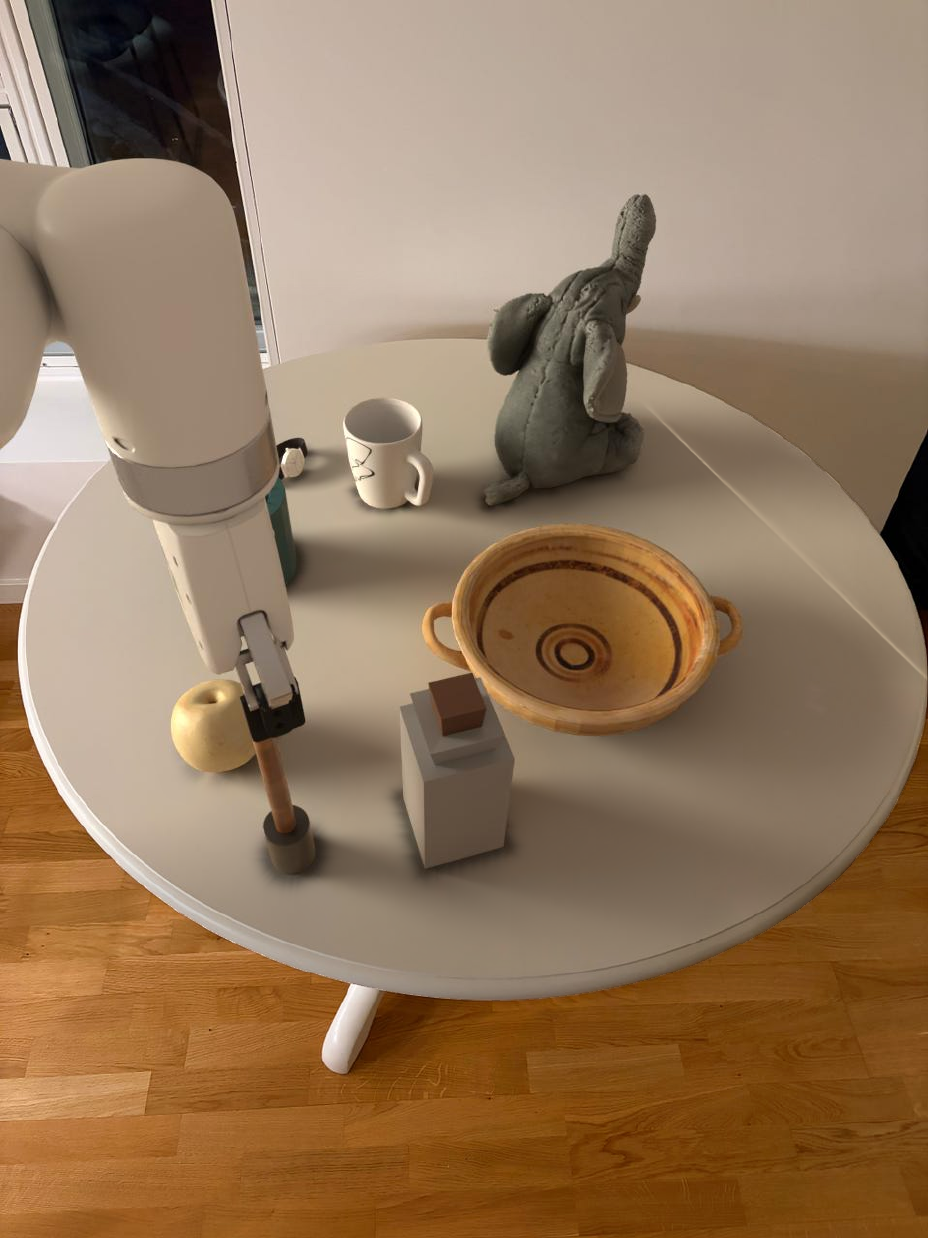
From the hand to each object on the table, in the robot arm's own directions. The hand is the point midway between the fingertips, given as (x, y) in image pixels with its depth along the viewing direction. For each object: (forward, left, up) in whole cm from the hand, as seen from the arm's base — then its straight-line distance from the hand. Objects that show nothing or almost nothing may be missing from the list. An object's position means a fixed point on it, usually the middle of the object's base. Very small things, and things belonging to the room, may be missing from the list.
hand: (253, 671), depth 56 cm
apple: (-2, +13, -24) cm, 27 cm away
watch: (+15, +47, -24) cm, 55 cm away
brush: (0, 0, -24) cm, 24 cm away
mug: (+25, +37, -24) cm, 51 cm away
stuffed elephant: (+46, +36, -24) cm, 63 cm away
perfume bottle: (+13, -3, -24) cm, 28 cm away
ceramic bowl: (+31, +7, -24) cm, 40 cm away
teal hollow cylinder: (+7, +33, -24) cm, 41 cm away
